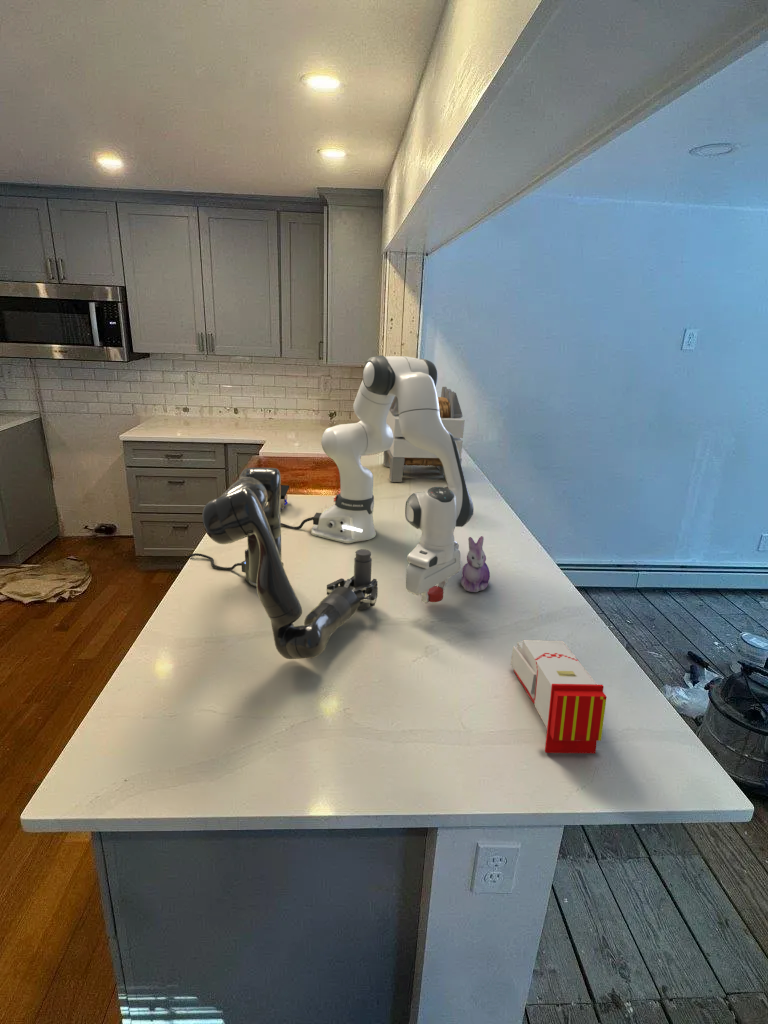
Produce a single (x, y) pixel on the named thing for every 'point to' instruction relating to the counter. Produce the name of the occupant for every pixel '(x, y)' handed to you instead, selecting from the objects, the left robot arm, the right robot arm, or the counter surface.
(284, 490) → the figurine character
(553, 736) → the toy
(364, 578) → the cylinder
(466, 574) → the figurine
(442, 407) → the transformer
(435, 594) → the lid
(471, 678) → the counter surface
